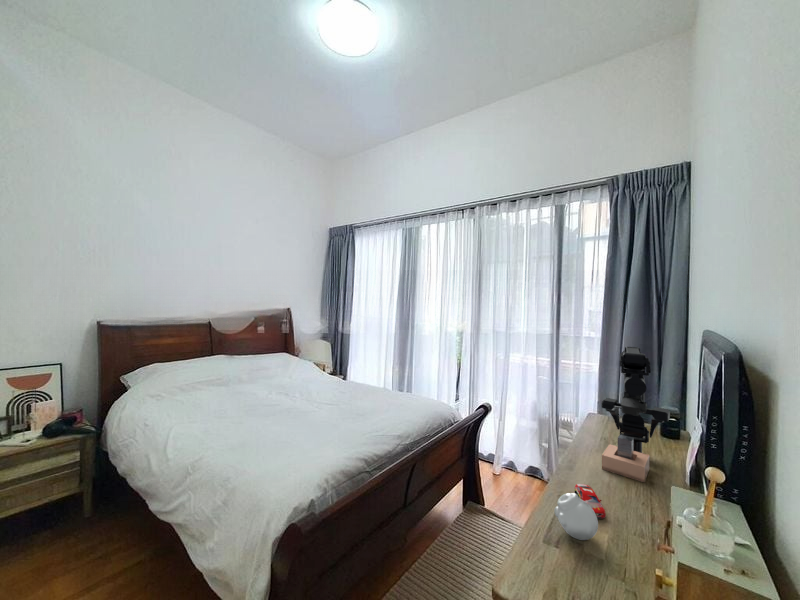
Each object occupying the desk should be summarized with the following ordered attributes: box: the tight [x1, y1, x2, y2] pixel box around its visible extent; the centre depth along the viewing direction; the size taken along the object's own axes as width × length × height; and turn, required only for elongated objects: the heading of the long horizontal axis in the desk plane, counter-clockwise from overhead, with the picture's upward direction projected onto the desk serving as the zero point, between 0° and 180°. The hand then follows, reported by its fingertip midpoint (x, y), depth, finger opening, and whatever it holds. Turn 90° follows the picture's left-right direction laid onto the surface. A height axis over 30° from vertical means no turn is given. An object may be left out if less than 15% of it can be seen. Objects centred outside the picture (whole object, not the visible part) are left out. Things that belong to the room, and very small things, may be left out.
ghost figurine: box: [553, 492, 599, 541], centre depth 79 cm, size 9×10×10 cm
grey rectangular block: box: [617, 434, 634, 461], centre depth 111 cm, size 4×4×10 cm
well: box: [601, 443, 650, 484], centre depth 111 cm, size 12×12×5 cm
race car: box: [574, 483, 607, 520], centre depth 91 cm, size 13×5×4 cm, turn 164°
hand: (634, 433), depth 110 cm, fingers open, 9 cm apart
